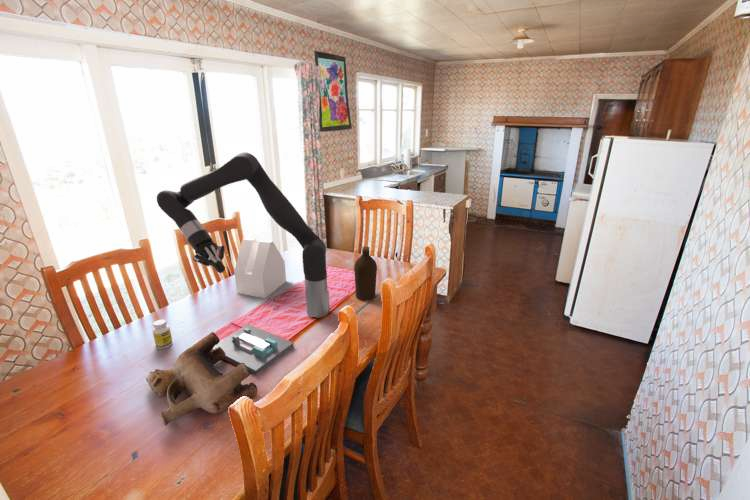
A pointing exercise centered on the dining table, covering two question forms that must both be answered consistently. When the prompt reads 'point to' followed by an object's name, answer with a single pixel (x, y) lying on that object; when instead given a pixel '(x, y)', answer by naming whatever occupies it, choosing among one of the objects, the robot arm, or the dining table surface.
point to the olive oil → (365, 276)
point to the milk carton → (259, 268)
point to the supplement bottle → (162, 334)
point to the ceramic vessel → (200, 381)
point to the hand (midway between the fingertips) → (222, 271)
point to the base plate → (253, 349)
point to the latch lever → (253, 341)
